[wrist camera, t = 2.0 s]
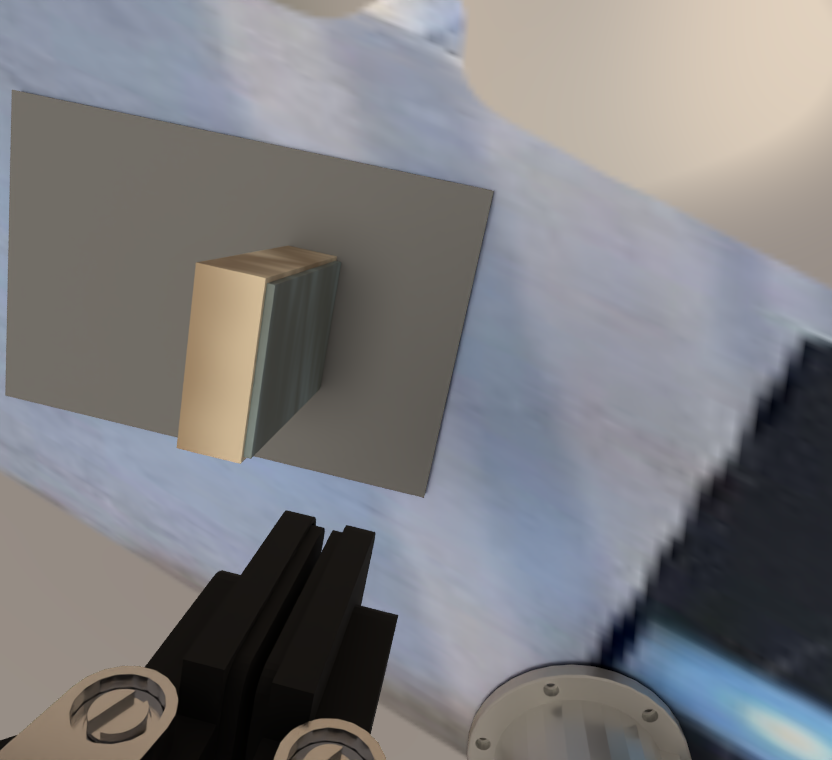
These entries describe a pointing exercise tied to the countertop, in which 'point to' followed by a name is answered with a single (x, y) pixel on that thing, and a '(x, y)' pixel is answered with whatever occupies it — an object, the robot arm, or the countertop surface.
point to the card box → (254, 347)
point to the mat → (222, 237)
